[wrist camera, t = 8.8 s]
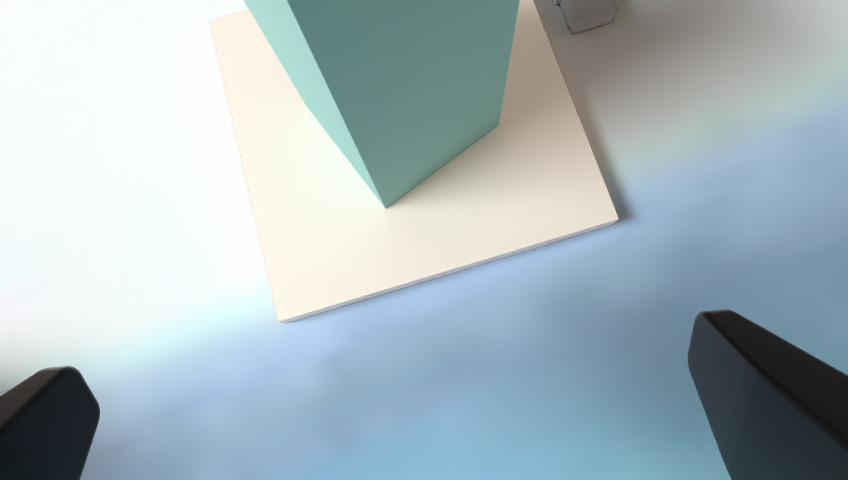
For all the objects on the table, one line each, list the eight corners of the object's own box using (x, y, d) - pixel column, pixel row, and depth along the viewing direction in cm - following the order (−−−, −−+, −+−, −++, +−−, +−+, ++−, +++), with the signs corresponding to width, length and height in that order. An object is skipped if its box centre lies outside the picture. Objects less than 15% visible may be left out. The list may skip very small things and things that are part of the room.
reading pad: (612, 224, 19) (618, 218, 19) (285, 323, 19) (277, 321, 19) (504, -53, 22) (506, -68, 21) (217, 33, 22) (209, 21, 21)
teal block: (498, 125, 20) (557, -226, 8) (385, 208, 19) (271, -33, 7) (410, 23, 21) (348, -417, 9) (302, 100, 20) (89, -257, 9)
